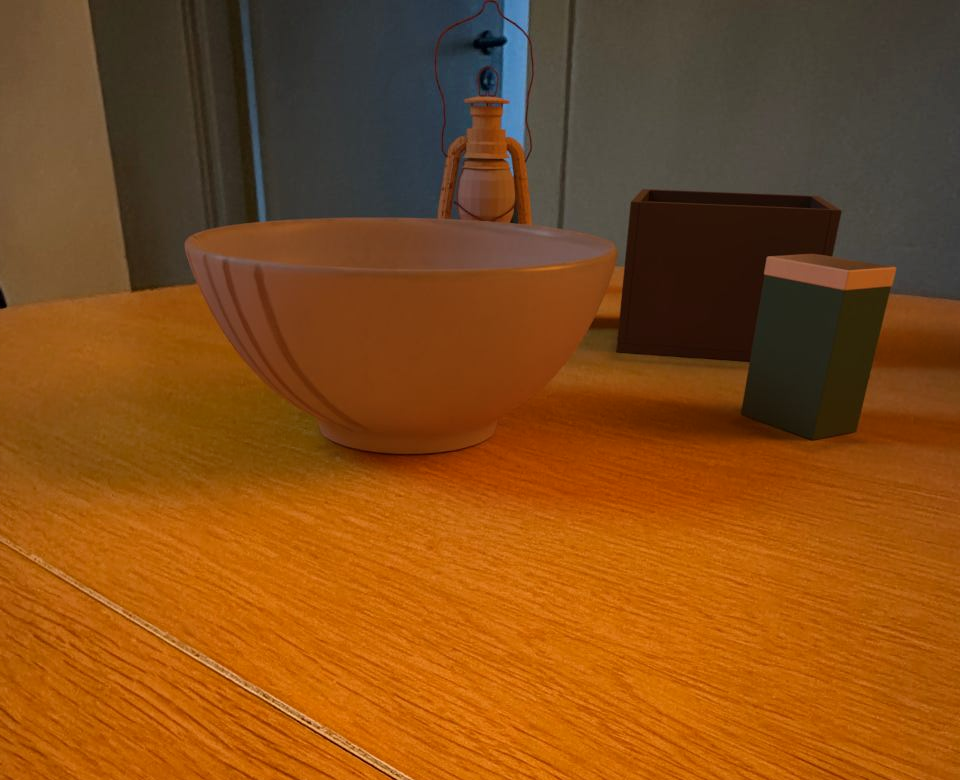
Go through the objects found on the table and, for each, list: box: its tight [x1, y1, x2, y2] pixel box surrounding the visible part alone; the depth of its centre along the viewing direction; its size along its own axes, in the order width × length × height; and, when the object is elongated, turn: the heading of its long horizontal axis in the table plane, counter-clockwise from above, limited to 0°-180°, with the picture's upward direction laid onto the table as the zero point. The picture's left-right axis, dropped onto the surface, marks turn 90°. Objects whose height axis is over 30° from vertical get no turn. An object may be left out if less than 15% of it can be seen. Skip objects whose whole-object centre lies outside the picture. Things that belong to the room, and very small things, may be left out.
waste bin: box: [615, 188, 843, 362], centre depth 87 cm, size 18×18×13 cm
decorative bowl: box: [184, 217, 619, 455], centre depth 60 cm, size 27×27×12 cm
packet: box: [740, 254, 897, 441], centre depth 63 cm, size 5×7×11 cm, turn 30°
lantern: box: [434, 0, 535, 225], centre depth 105 cm, size 12×10×30 cm
